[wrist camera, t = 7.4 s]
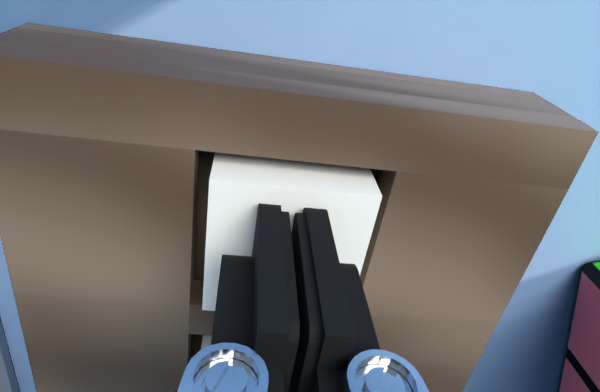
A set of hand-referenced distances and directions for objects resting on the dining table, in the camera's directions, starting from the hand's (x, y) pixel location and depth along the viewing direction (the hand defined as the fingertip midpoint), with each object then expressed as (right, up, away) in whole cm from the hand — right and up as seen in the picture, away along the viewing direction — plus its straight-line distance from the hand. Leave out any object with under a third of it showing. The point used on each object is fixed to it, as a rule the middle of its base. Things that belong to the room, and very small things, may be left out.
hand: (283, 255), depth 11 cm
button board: (-1, -3, +6) cm, 7 cm away
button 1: (0, +1, +2) cm, 3 cm away
